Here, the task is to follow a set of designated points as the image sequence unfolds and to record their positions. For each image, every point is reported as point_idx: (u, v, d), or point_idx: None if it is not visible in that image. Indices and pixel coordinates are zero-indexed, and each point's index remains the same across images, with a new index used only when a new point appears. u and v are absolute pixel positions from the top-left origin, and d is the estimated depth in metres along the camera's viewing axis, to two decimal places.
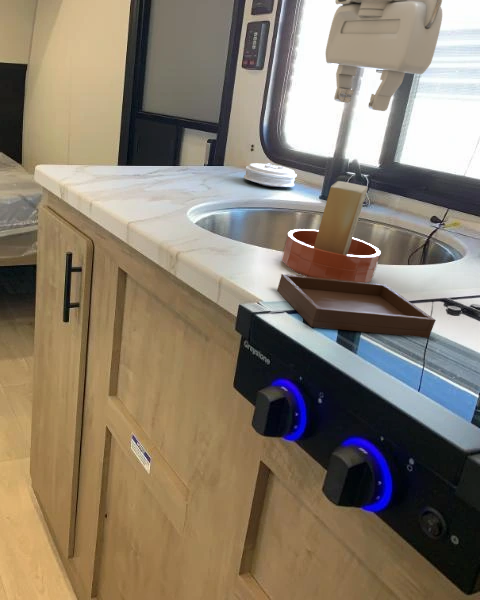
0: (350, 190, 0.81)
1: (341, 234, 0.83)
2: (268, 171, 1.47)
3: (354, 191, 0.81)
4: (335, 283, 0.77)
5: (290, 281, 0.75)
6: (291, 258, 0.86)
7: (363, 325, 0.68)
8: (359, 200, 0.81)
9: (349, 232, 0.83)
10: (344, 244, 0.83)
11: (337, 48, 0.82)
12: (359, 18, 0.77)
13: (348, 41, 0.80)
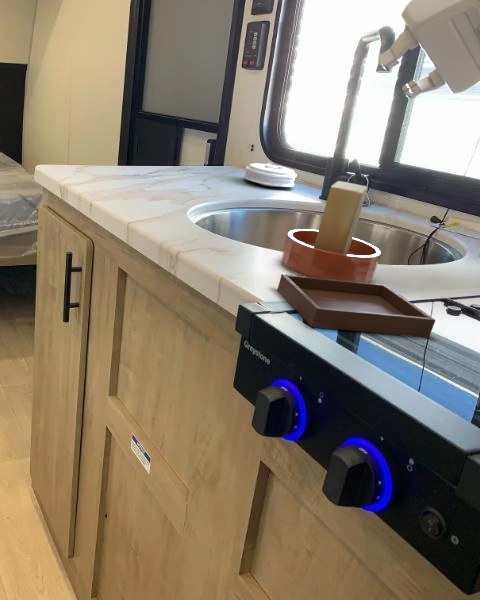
0: (350, 190, 0.81)
1: (341, 234, 0.83)
2: (268, 171, 1.47)
3: (354, 191, 0.81)
4: (335, 283, 0.77)
5: (290, 281, 0.75)
6: (291, 258, 0.86)
7: (363, 325, 0.68)
8: (359, 200, 0.81)
9: (349, 232, 0.83)
10: (344, 244, 0.83)
11: (435, 32, 0.73)
12: (475, 26, 0.74)
13: (449, 37, 0.75)
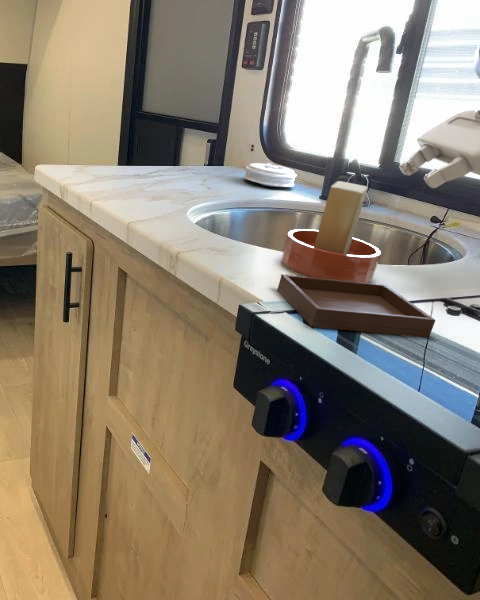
0: (350, 190, 0.81)
1: (341, 234, 0.83)
2: (268, 171, 1.47)
3: (354, 191, 0.81)
4: (335, 283, 0.77)
5: (290, 281, 0.75)
6: (291, 258, 0.86)
7: (363, 325, 0.68)
8: (359, 200, 0.81)
9: (349, 232, 0.83)
10: (344, 244, 0.83)
11: None
12: None
13: None
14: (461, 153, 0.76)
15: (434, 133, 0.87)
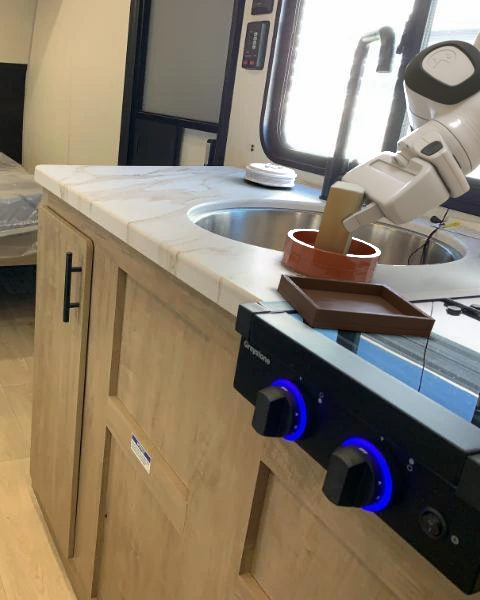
0: (350, 190, 0.81)
1: (341, 234, 0.83)
2: (268, 171, 1.47)
3: (354, 191, 0.81)
4: (335, 283, 0.77)
5: (290, 281, 0.75)
6: (291, 258, 0.86)
7: (363, 325, 0.68)
8: (359, 200, 0.81)
9: (349, 232, 0.83)
10: (344, 244, 0.83)
11: None
12: None
13: None
14: (375, 200, 0.78)
15: (355, 175, 0.89)
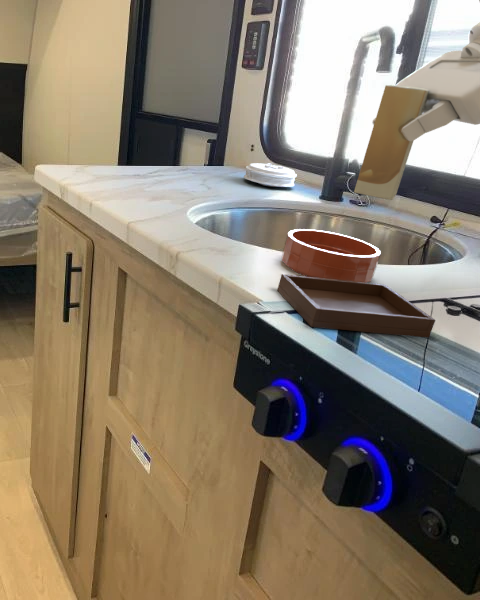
0: (411, 88, 0.64)
1: (398, 146, 0.66)
2: (268, 171, 1.47)
3: (416, 89, 0.64)
4: (335, 283, 0.77)
5: (290, 281, 0.75)
6: (291, 258, 0.86)
7: (363, 325, 0.68)
8: (422, 100, 0.64)
9: (408, 143, 0.66)
10: (401, 160, 0.67)
11: None
12: None
13: None
14: (445, 97, 0.61)
15: (412, 80, 0.72)
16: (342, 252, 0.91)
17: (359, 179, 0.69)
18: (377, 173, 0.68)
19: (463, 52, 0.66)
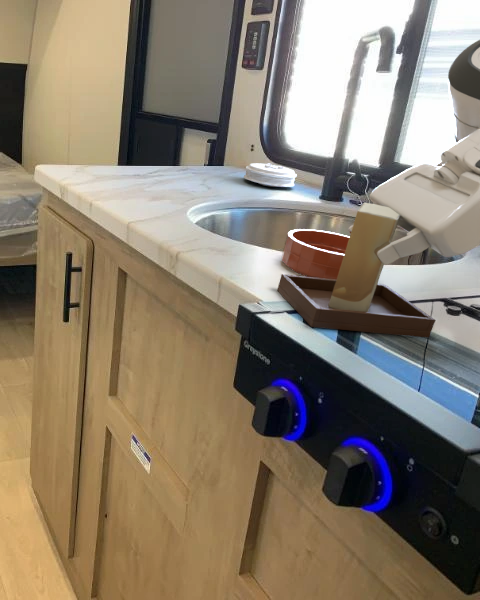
0: (382, 215, 0.66)
1: (370, 268, 0.68)
2: (268, 171, 1.47)
3: (387, 217, 0.66)
4: None
5: (290, 281, 0.75)
6: (291, 258, 0.86)
7: (363, 325, 0.68)
8: (393, 228, 0.66)
9: (380, 266, 0.68)
10: (373, 281, 0.68)
11: None
12: None
13: None
14: (417, 225, 0.63)
15: (387, 191, 0.74)
16: (342, 252, 0.91)
17: (333, 295, 0.71)
18: (350, 291, 0.70)
19: (436, 173, 0.68)
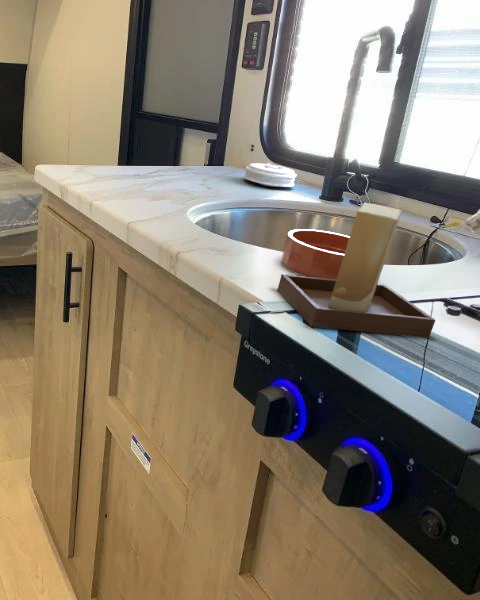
0: (382, 215, 0.66)
1: (370, 268, 0.68)
2: (268, 171, 1.47)
3: (387, 217, 0.66)
4: None
5: (290, 281, 0.75)
6: (291, 258, 0.86)
7: (363, 325, 0.68)
8: (393, 228, 0.66)
9: (380, 266, 0.68)
10: (373, 281, 0.68)
11: None
12: None
13: None
14: None
15: None
16: (342, 252, 0.91)
17: (333, 295, 0.71)
18: (350, 291, 0.70)
19: None
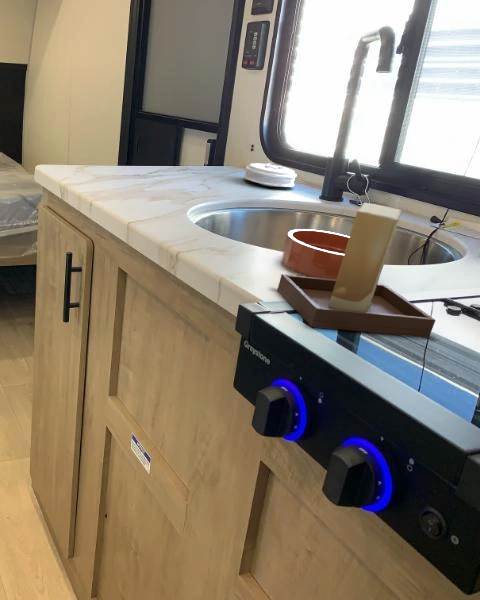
0: (381, 215, 0.66)
1: (370, 268, 0.68)
2: (268, 171, 1.47)
3: (387, 217, 0.66)
4: None
5: (290, 281, 0.75)
6: (291, 258, 0.86)
7: (363, 325, 0.68)
8: (393, 228, 0.66)
9: (380, 266, 0.68)
10: (373, 281, 0.68)
11: None
12: None
13: None
14: None
15: None
16: (342, 252, 0.91)
17: (333, 295, 0.71)
18: (350, 291, 0.70)
19: None
